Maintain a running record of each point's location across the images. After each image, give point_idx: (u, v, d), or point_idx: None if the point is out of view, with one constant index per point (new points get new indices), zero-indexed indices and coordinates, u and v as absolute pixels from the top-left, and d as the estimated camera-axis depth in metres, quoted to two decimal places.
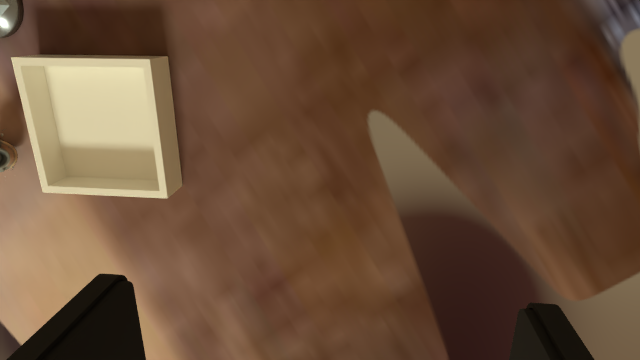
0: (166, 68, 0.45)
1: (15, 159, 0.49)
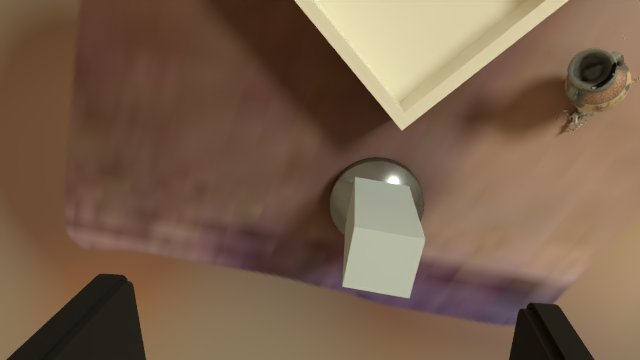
0: None
1: None
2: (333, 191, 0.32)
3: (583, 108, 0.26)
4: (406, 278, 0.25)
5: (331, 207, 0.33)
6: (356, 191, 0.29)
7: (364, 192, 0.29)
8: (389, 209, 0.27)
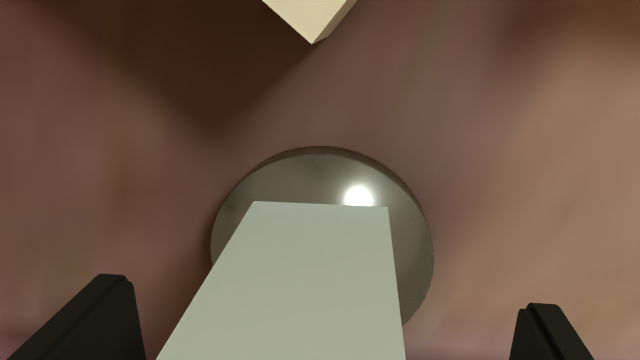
0: None
1: None
2: (213, 240, 0.14)
3: None
4: None
5: None
6: (230, 245, 0.10)
7: (252, 245, 0.10)
8: (307, 302, 0.08)
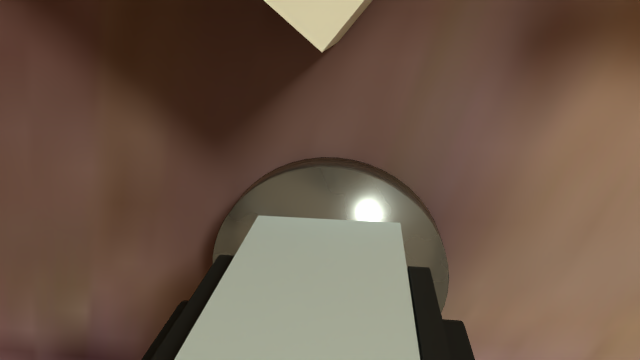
0: None
1: None
2: (216, 256, 0.13)
3: None
4: None
5: None
6: (233, 266, 0.10)
7: (257, 266, 0.10)
8: (315, 334, 0.08)
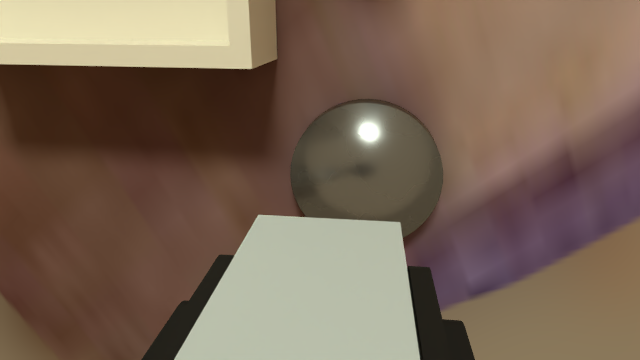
0: None
1: None
2: (302, 208, 0.21)
3: None
4: None
5: None
6: (233, 265, 0.10)
7: (257, 265, 0.10)
8: (316, 333, 0.08)
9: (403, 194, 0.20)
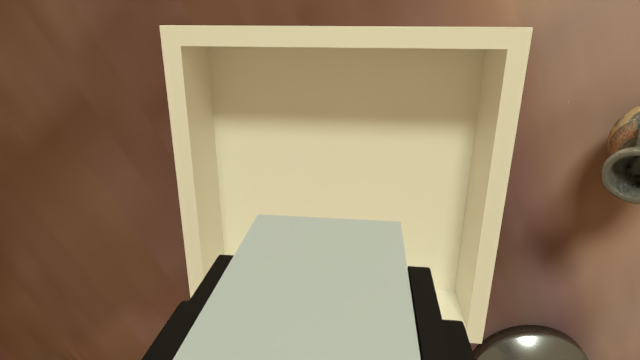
0: None
1: (612, 133, 0.19)
2: None
3: None
4: None
5: None
6: (233, 265, 0.10)
7: (256, 265, 0.10)
8: (316, 333, 0.08)
9: None
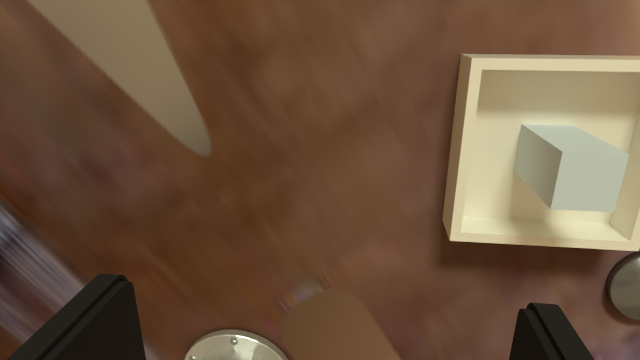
0: (444, 210, 0.38)
1: None
2: (614, 302, 0.39)
3: None
4: (611, 193, 0.28)
5: (622, 312, 0.39)
6: (535, 132, 0.32)
7: (542, 132, 0.32)
8: (576, 139, 0.30)
9: None
